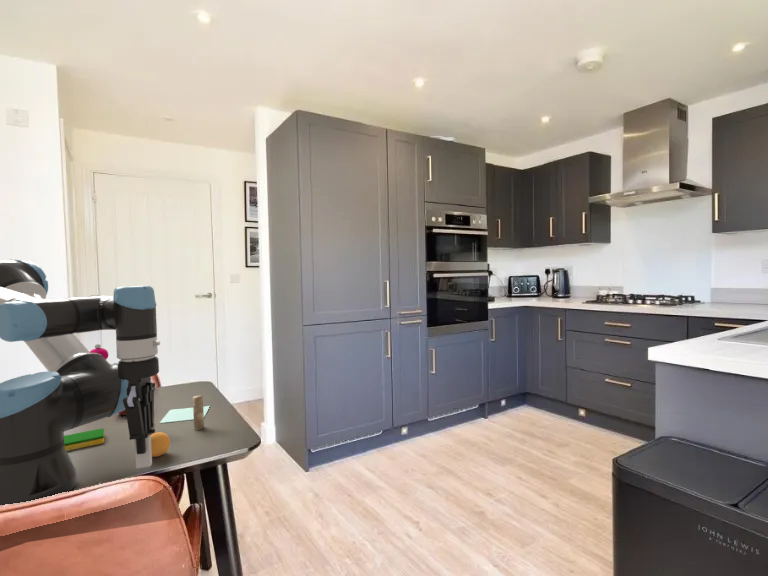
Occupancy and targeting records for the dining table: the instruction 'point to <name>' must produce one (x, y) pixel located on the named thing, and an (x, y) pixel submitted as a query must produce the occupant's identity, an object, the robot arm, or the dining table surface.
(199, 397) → the right post
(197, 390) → the dining table surface
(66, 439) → the dish sponge
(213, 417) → the dining table surface
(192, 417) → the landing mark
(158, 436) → the ball
